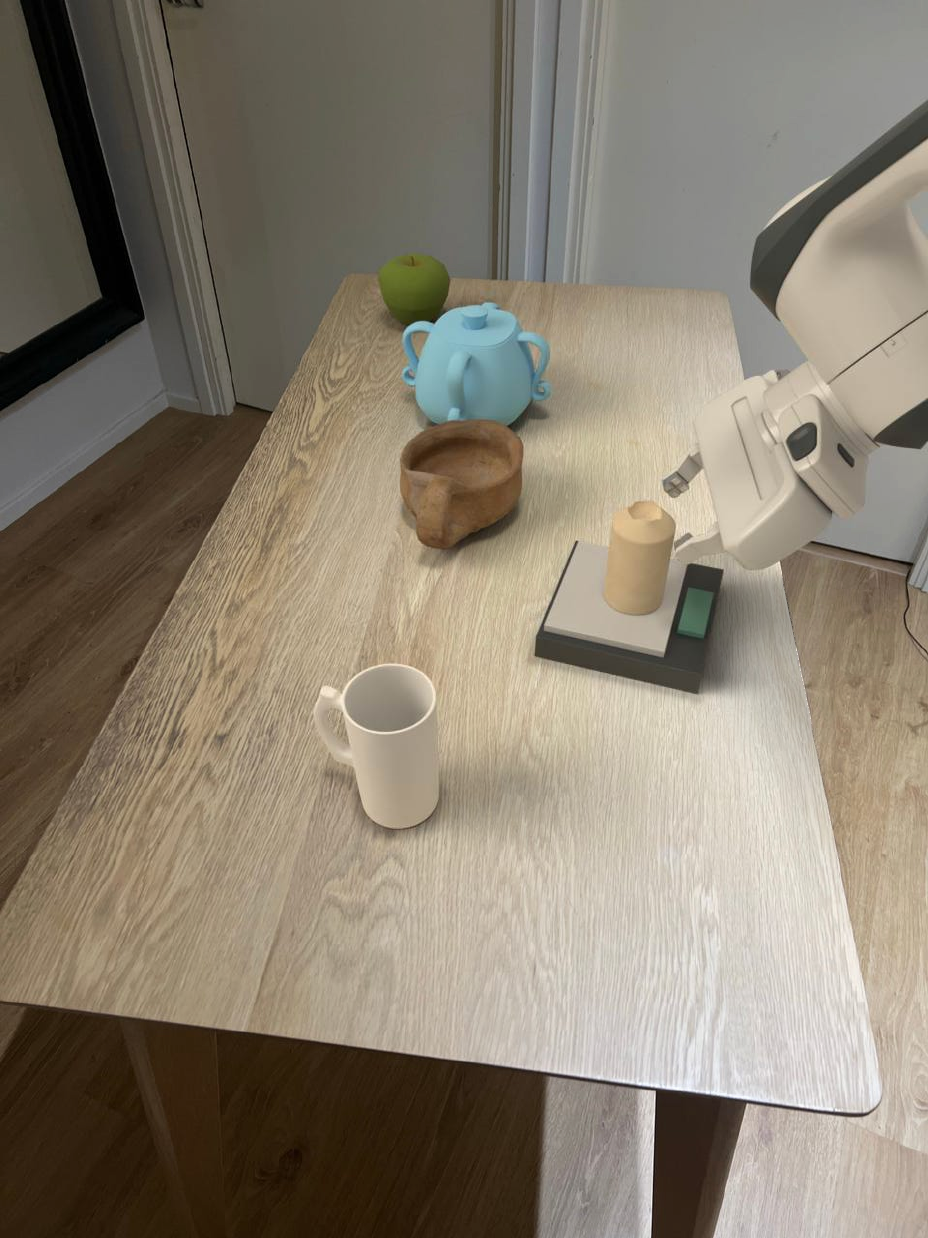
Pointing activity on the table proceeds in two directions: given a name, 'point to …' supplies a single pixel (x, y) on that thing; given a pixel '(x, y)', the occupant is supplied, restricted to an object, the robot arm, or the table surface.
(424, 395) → the decorative pot
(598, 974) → the table surface
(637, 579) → the candle
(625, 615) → the scale
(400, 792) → the mug
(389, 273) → the apple
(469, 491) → the bowl
